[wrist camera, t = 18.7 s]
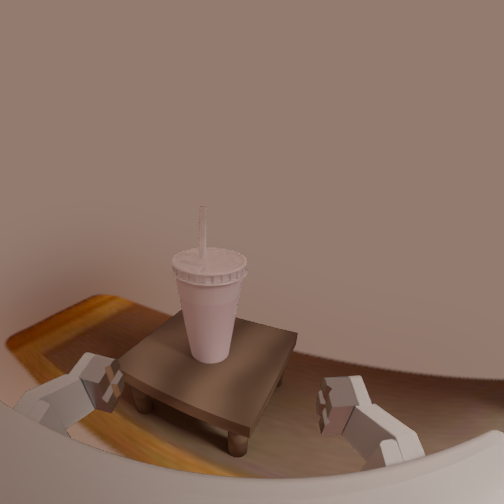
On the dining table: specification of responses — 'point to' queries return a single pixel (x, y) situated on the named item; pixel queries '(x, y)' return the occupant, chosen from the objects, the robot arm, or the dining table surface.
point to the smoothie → (209, 295)
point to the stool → (210, 376)
